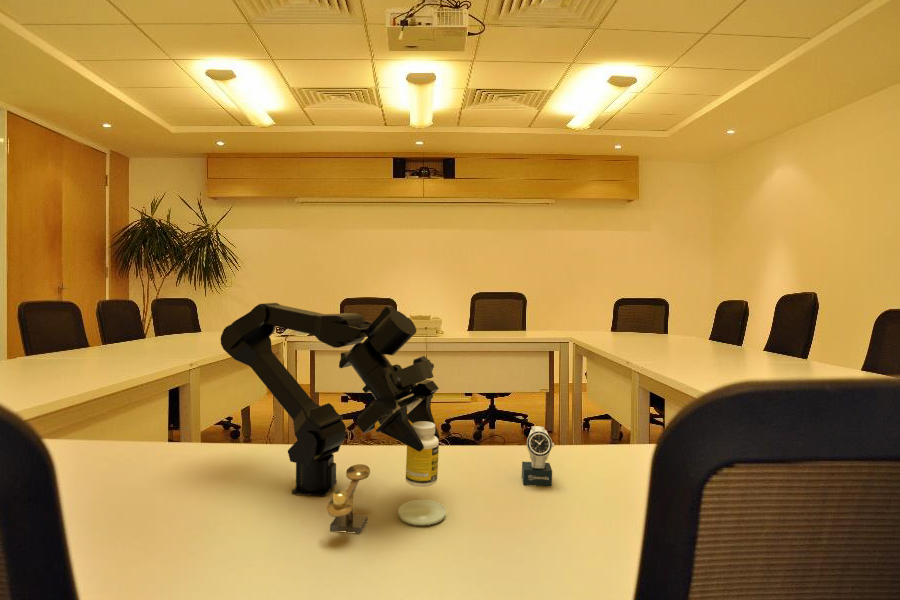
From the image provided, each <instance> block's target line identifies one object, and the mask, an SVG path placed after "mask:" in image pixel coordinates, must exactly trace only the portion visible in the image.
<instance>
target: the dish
mask: <svg viewBox="0 0 900 600" xmlns="http://www.w3.org/2000/svg"><path fill="white" fill-rule="evenodd" d="M446 512H447V509H446V507H445V505H443V504H442V503H440V502H438V501H435V500H432V499H431V500H430V499H414V500H410V501H409V500H408V501H407V502H405V503H402V504H401V505H400V506H399V508H398V517H399V519H400V520H402V521H403V522H405V523H406V524H409V525H412V524H413V525H412V526H416V525H428V526H431V524H432V525H435V524H437V523H439V522H441V521H442V520H444V519H445V518H446V514H447V513H446Z"/></svg>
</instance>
